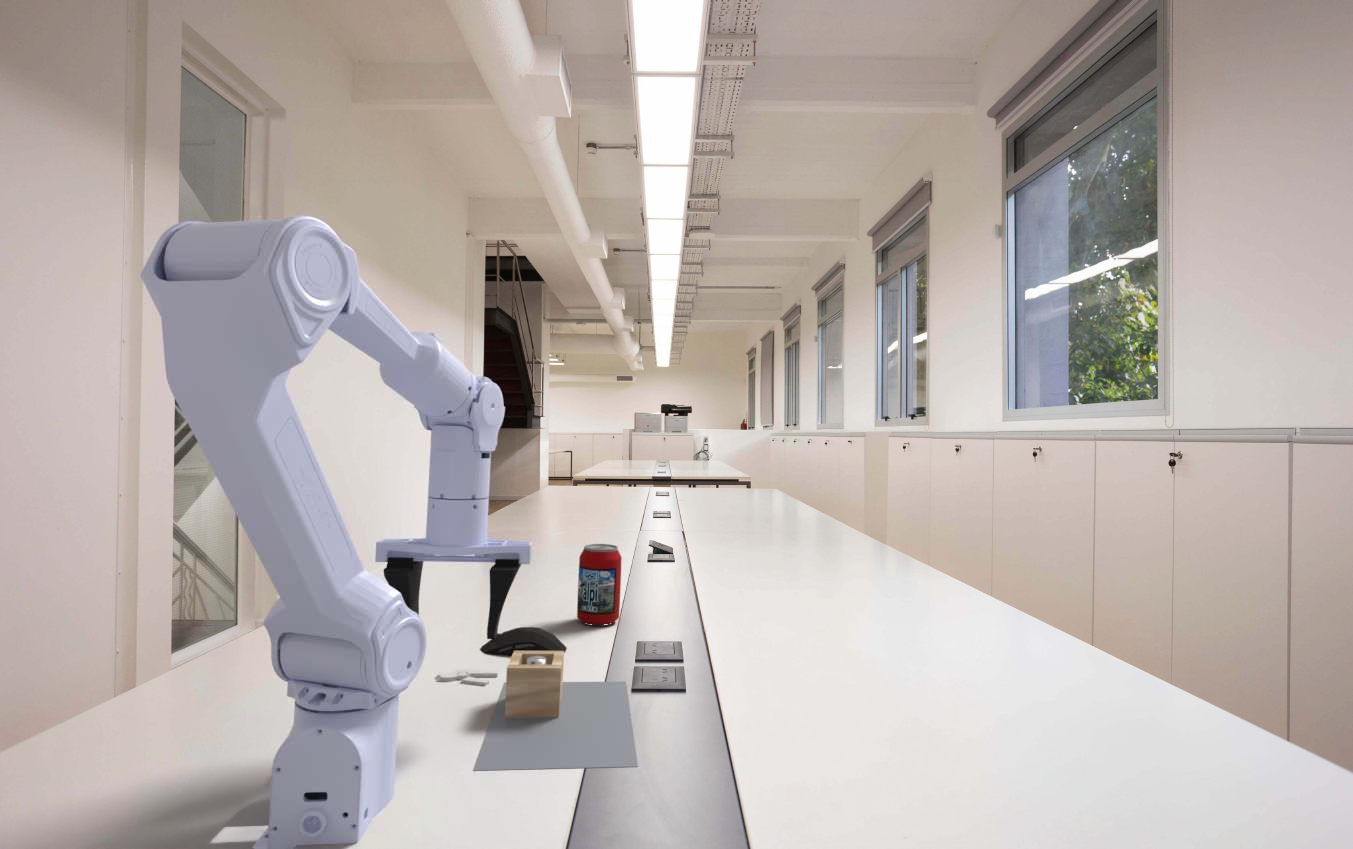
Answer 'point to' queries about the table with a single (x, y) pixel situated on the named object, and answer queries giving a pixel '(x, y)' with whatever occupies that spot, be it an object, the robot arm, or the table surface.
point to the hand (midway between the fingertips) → (452, 636)
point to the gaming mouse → (522, 642)
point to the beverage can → (599, 584)
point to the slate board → (564, 733)
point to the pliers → (467, 676)
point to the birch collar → (534, 685)
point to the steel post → (536, 660)
